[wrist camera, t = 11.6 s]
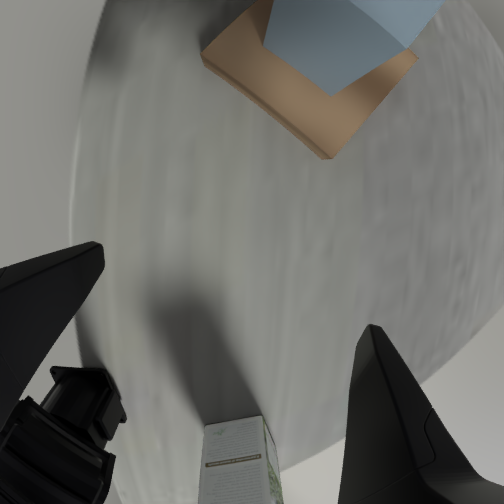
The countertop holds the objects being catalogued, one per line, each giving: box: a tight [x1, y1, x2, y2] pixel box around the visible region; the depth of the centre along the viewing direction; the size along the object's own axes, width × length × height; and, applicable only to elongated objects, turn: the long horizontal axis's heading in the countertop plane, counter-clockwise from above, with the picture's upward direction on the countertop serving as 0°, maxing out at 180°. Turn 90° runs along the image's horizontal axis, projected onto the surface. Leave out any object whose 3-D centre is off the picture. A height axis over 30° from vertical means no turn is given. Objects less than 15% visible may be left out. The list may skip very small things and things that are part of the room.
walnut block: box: [200, 0, 419, 160], centre depth 17 cm, size 10×10×3 cm
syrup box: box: [198, 416, 284, 504], centre depth 19 cm, size 6×6×14 cm
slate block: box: [263, 0, 445, 96], centre depth 11 cm, size 5×5×9 cm
